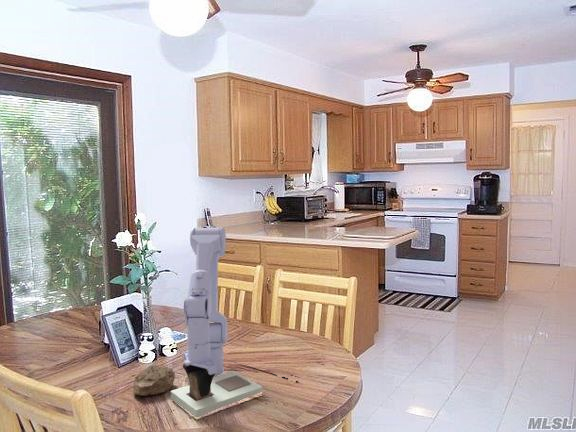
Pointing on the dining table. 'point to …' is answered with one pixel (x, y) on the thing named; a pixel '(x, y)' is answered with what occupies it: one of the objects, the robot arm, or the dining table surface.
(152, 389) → the rock
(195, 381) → the block
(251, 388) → the board
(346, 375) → the dining table surface
